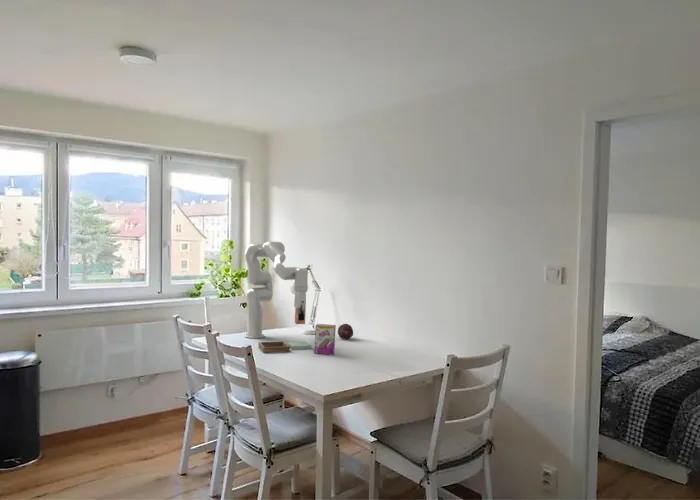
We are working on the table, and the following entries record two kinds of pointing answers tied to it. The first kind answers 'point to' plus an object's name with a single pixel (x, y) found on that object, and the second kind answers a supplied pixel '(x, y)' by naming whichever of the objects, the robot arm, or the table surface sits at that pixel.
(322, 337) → the candy bar box
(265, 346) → the brown wooden tray
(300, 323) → the wooden block
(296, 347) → the green board
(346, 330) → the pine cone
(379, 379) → the table surface
